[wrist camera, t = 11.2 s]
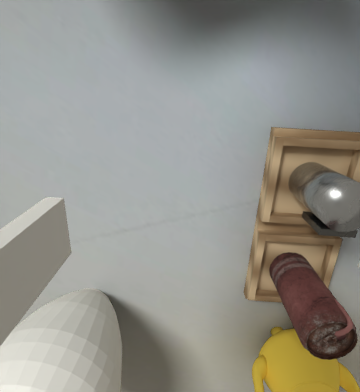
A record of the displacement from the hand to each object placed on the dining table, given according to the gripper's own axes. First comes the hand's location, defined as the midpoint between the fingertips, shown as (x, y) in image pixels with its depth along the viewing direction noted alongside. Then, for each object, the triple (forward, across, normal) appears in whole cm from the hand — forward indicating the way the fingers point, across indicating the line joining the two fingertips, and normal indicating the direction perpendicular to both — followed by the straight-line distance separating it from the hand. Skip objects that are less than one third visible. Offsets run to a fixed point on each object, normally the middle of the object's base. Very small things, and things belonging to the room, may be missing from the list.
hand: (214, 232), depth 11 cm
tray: (+27, +16, -12) cm, 34 cm away
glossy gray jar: (+26, +16, -6) cm, 31 cm away
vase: (+27, -18, -31) cm, 45 cm away
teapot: (+27, +19, -39) cm, 51 cm away
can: (+26, +15, -20) cm, 36 cm away
